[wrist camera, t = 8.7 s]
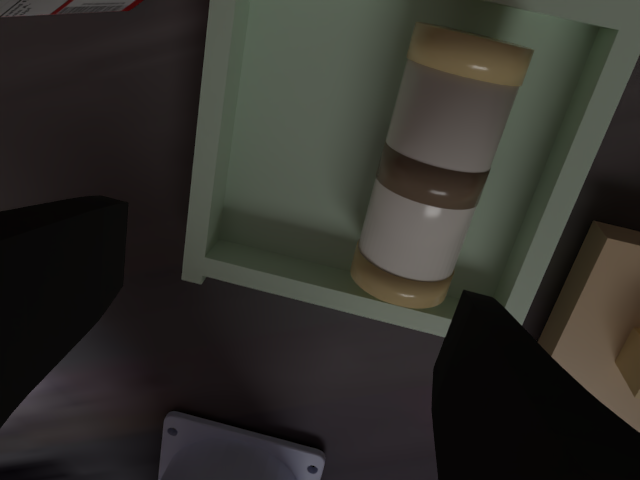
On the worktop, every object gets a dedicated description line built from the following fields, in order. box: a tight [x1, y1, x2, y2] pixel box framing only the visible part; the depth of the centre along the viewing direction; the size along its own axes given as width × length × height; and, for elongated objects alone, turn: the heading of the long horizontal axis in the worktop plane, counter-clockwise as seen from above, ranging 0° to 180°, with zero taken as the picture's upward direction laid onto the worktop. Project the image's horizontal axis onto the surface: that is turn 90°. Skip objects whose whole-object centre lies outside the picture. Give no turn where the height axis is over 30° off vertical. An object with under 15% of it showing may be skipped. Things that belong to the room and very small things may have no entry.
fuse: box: [350, 21, 535, 309], centre depth 18 cm, size 8×4×4 cm
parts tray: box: [181, 0, 640, 337], centre depth 19 cm, size 13×13×2 cm
